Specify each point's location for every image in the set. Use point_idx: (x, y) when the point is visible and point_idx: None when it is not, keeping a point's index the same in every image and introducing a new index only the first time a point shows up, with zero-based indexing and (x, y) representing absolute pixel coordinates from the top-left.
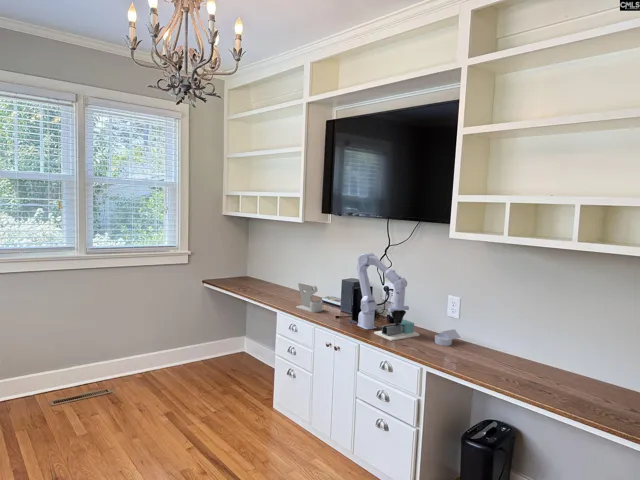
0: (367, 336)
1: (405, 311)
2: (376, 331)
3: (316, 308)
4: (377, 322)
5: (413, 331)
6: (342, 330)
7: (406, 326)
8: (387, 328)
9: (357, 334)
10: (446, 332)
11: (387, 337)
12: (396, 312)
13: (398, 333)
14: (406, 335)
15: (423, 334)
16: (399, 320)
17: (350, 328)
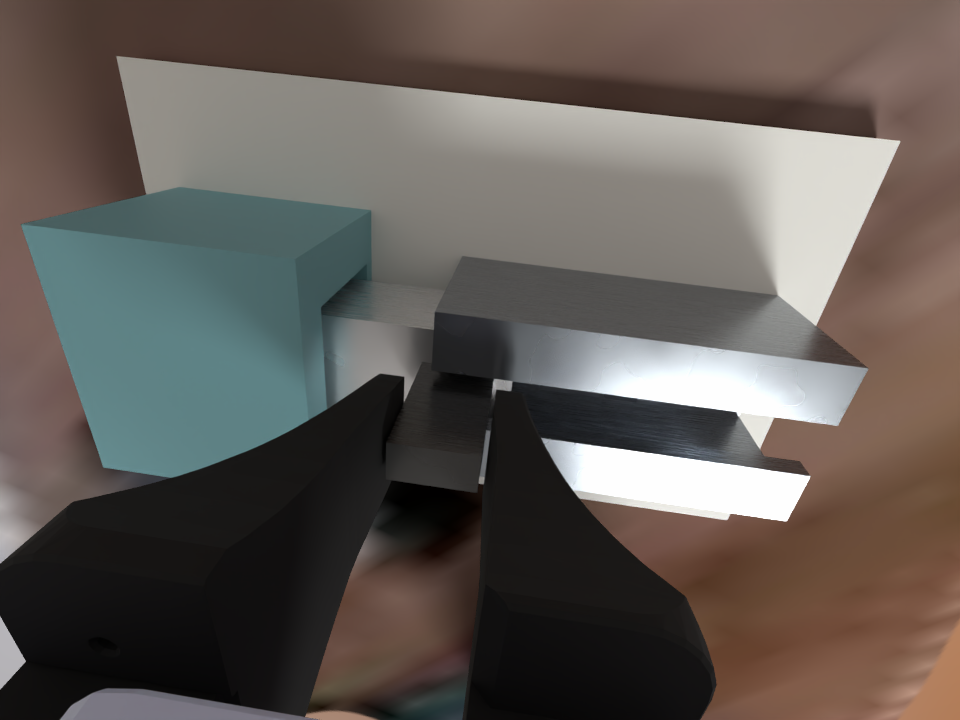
0: (923, 478)
1: (31, 575)
2: (687, 511)
3: None
4: (332, 665)
5: (172, 190)
6: (900, 711)
7: (311, 244)
8: (846, 372)
9: (930, 579)
10: None
11: (848, 250)
12: (613, 710)
13: (512, 266)
14: (436, 129)
15: (27, 67)
16: (395, 434)
17: (759, 702)
